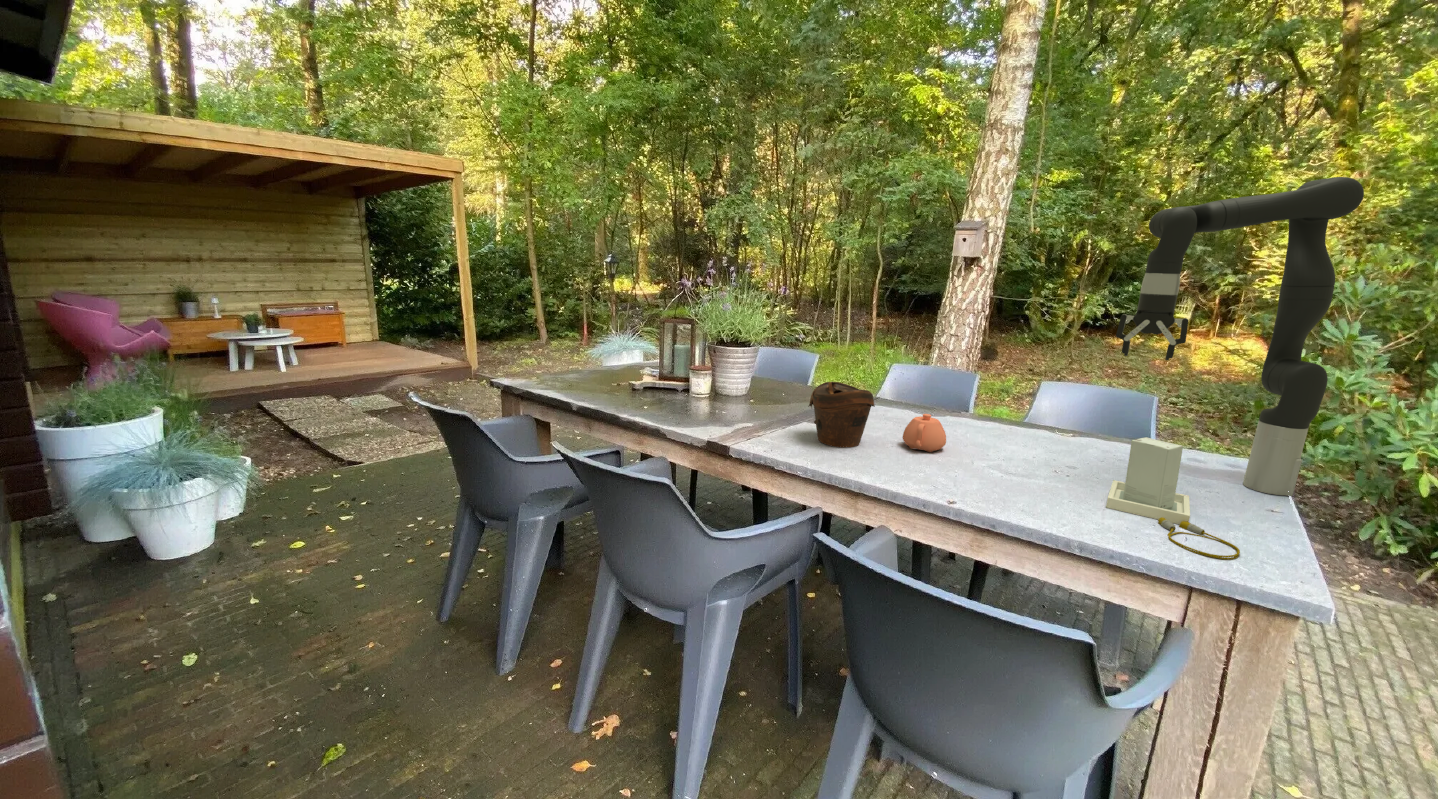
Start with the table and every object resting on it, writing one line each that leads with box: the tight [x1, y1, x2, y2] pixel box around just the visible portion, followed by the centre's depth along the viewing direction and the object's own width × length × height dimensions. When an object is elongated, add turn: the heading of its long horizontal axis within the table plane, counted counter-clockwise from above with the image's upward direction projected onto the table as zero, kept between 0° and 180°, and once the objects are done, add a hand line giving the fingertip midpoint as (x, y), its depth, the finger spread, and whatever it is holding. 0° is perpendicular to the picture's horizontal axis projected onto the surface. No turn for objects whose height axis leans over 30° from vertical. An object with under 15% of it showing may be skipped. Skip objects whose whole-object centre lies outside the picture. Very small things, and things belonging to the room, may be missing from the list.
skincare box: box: [1123, 436, 1184, 509], centre depth 137 cm, size 8×6×15 cm
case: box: [807, 381, 875, 448], centre depth 179 cm, size 18×20×18 cm
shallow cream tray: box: [1105, 479, 1191, 525], centre depth 139 cm, size 15×15×2 cm
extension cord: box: [1157, 517, 1241, 561], centre depth 122 cm, size 12×16×2 cm
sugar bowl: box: [902, 413, 947, 453], centre depth 176 cm, size 12×14×10 cm
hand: (1146, 357), depth 151 cm, fingers open, 8 cm apart
